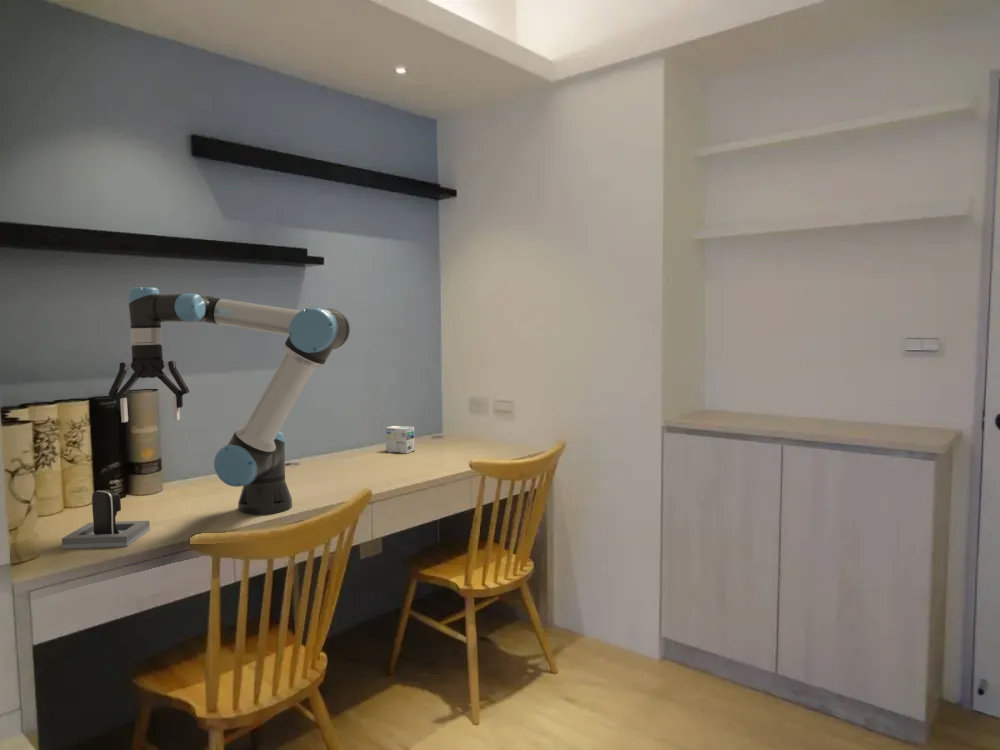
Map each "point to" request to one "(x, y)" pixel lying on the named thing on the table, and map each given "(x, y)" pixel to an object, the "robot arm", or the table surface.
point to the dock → (106, 535)
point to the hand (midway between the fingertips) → (151, 420)
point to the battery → (105, 511)
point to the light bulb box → (400, 439)
